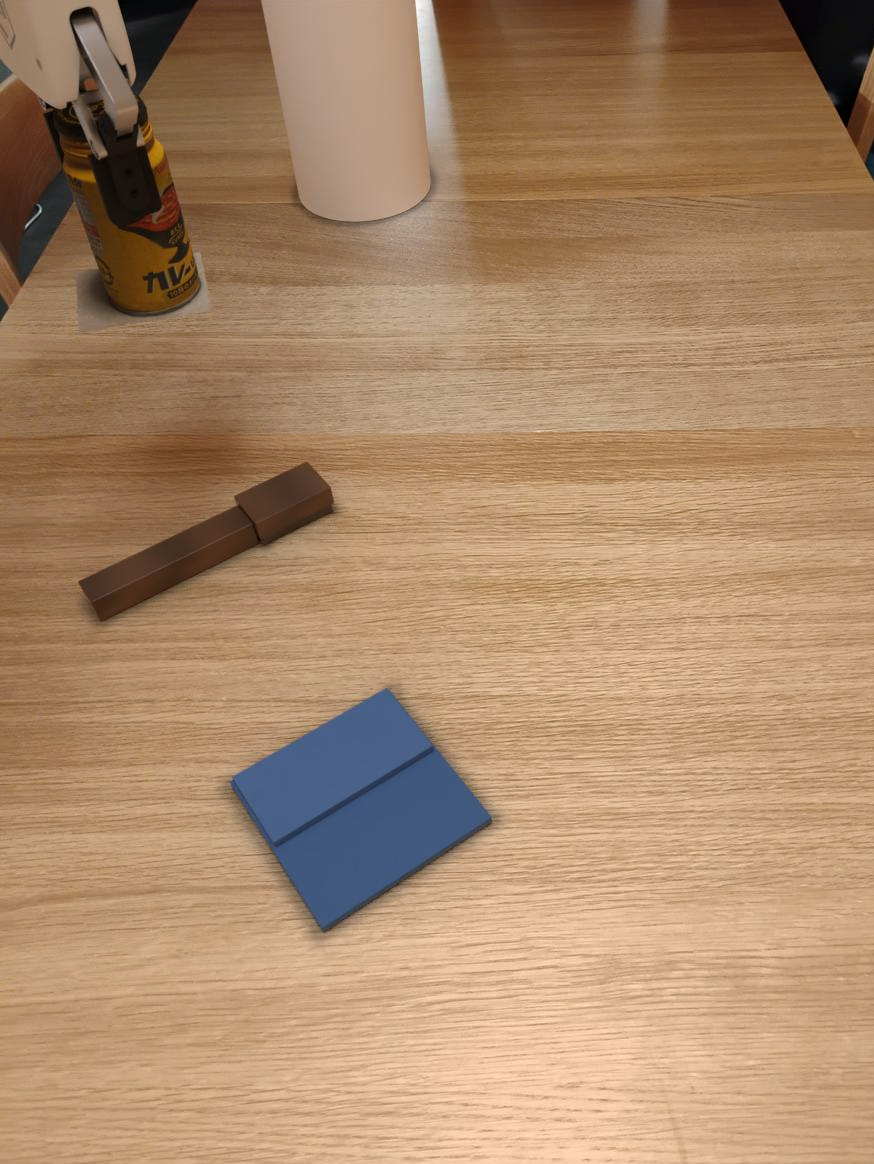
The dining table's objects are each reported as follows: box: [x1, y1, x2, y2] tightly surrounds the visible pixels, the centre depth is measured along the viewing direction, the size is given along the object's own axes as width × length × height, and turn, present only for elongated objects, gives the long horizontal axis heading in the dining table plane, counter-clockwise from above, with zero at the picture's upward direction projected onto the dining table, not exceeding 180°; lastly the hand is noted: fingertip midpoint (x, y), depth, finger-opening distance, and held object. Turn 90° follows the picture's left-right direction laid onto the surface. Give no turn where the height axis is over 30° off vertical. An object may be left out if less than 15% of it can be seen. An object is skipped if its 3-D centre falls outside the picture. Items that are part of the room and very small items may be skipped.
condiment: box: [53, 88, 212, 334], centre depth 62 cm, size 7×8×12 cm
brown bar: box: [77, 461, 335, 622], centre depth 70 cm, size 18×4×2 cm, turn 125°
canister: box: [261, 0, 432, 223], centre depth 94 cm, size 14×14×20 cm
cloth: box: [229, 687, 493, 932], centre depth 57 cm, size 11×11×1 cm
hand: (113, 191), depth 61 cm, fingers closed on condiment, 6 cm apart
